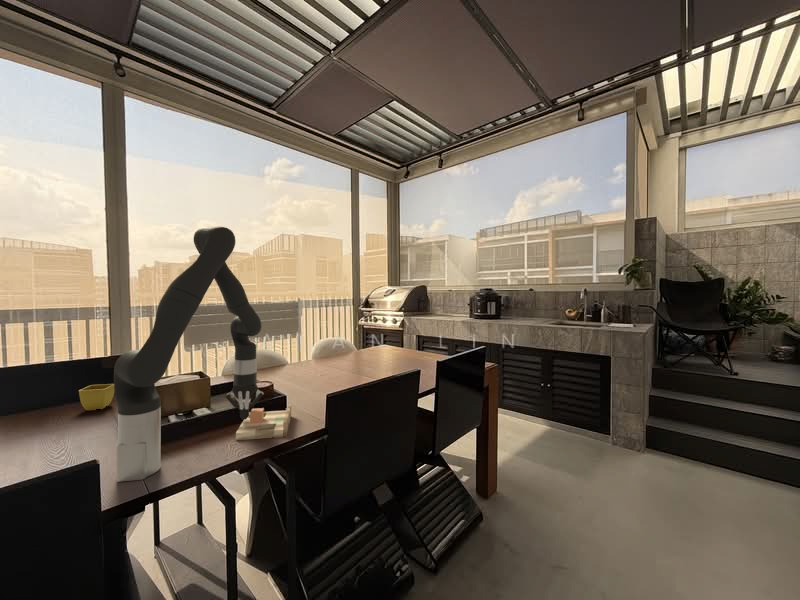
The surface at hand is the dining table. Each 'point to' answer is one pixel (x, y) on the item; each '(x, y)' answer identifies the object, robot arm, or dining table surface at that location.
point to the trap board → (266, 426)
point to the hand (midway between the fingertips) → (244, 418)
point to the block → (257, 415)
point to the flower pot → (96, 396)
